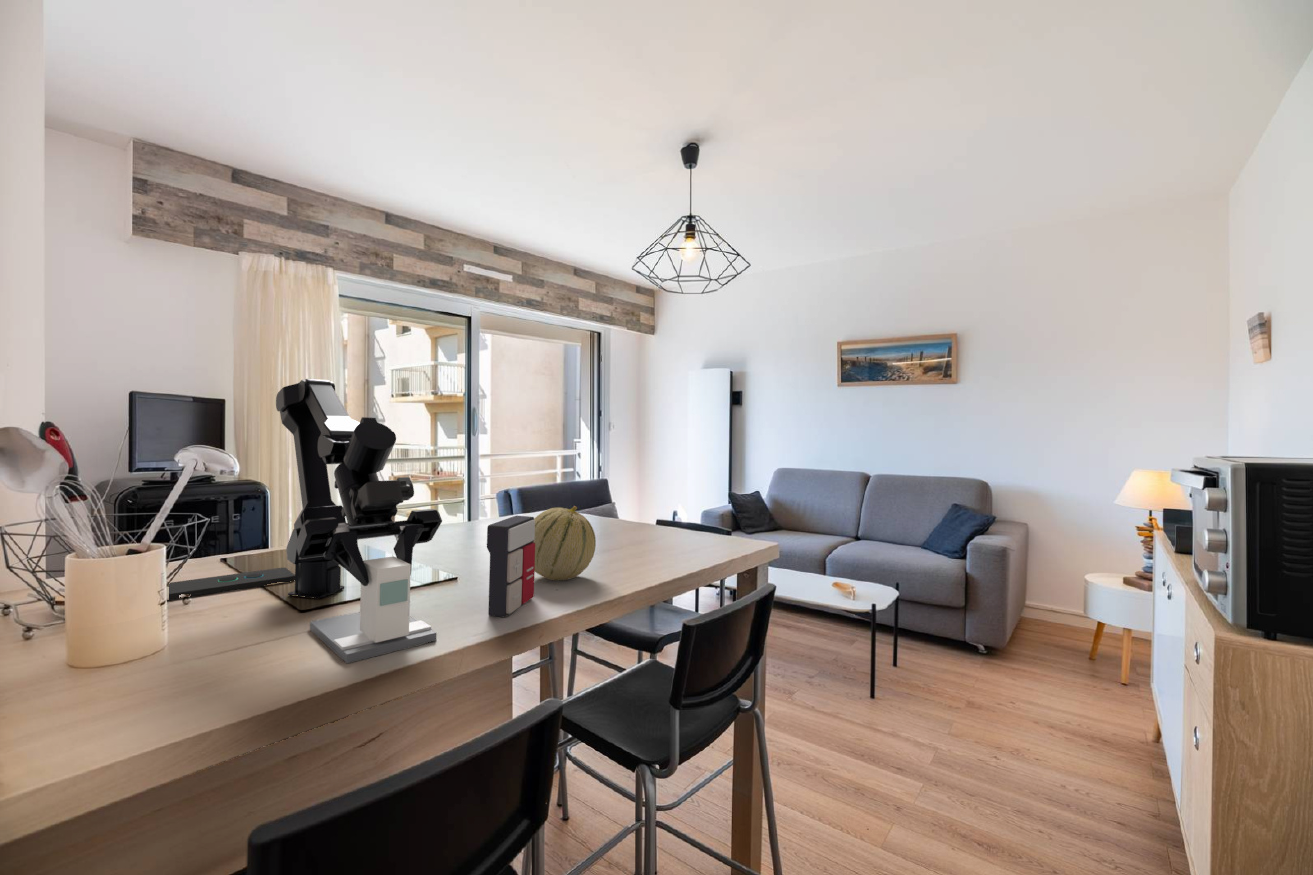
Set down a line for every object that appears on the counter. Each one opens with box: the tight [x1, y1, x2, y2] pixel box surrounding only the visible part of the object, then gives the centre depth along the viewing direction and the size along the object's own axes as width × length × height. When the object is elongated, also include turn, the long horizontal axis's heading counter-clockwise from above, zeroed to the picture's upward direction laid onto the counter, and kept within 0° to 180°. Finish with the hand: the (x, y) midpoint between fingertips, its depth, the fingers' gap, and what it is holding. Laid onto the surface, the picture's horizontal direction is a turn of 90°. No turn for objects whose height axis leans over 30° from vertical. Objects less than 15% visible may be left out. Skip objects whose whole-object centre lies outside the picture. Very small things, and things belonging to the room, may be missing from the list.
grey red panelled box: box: [486, 515, 536, 618], centre depth 100 cm, size 11×4×15 cm, turn 168°
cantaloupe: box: [534, 505, 596, 581], centre depth 118 cm, size 15×15×15 cm
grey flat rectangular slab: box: [309, 611, 437, 664], centre depth 85 cm, size 12×16×2 cm
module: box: [359, 555, 412, 643], centre depth 82 cm, size 6×4×10 cm
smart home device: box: [169, 567, 295, 601], centre depth 106 cm, size 8×2×20 cm
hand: (388, 580), depth 81 cm, fingers open, 5 cm apart
